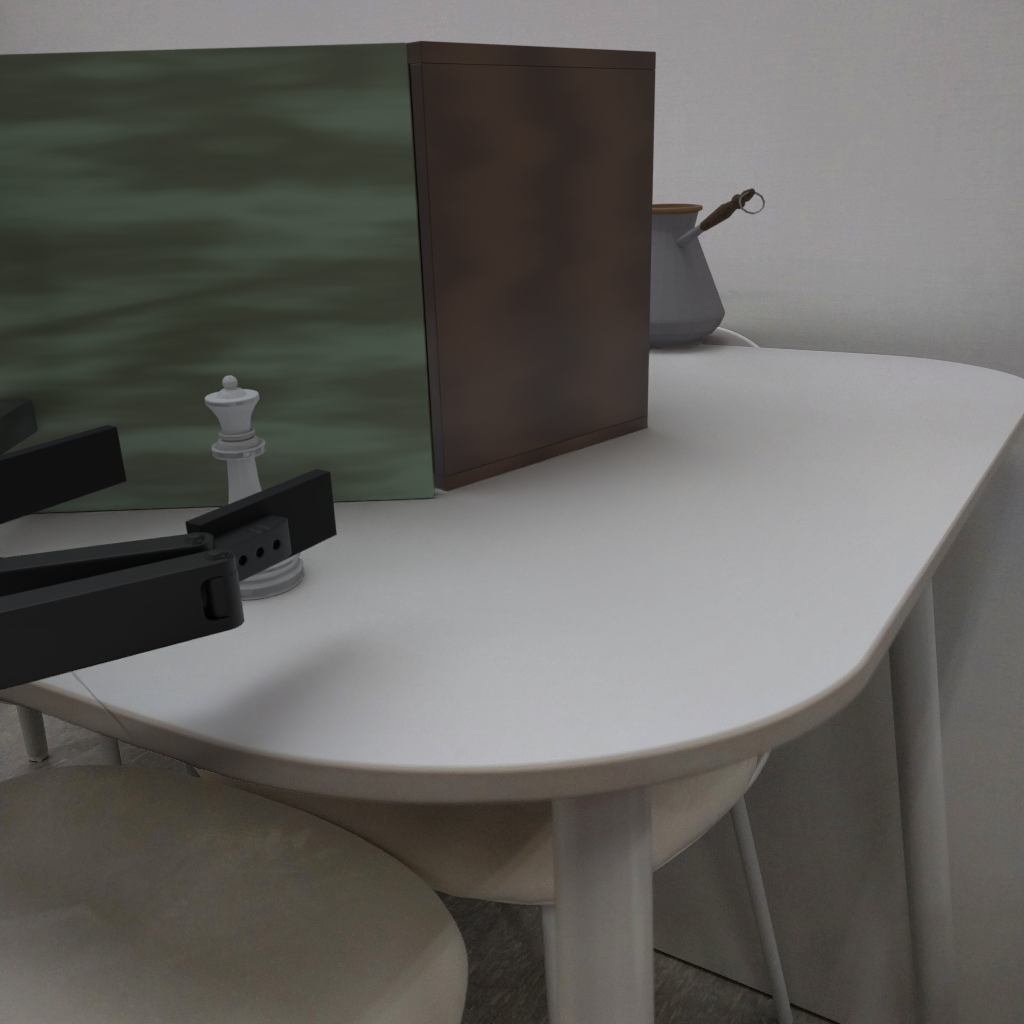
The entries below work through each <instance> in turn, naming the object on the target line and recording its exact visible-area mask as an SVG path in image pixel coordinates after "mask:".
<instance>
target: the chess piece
mask: <svg viewBox="0 0 1024 1024" xmlns="http://www.w3.org/2000/svg"><path fill="white" fill-rule="evenodd" d="M222 384H223V386H224V389H222V390H221V391H219V392H215V393H212V394H209V395H207V396H206V397H205V404H206V405H207V406H208V407H209V408H210V409H211V410H212V411H213V413H214V414H215V415H216V416H217V418H218V419H219V422H220V424H221V427H222V430H221V431H220V432H219V437H220V439H219V440H218V442H216V443H215V444H213V445H212V455H213V456H214V457H215V458H217V459H221V460H227V469H228V483H229V502H228V504H230V503H233V502H235V501H238V500H240V499H243V498H245V497H248V496H250V495H253V494H255V493H258V492H260V491H262V490H261V487H260V483H259V479H258V474H257V468H256V463H255V458H254V457H256V456H259V455H261V454H263V453H264V452H265V451H266V444H265V440H263V439H262V438H258V437H257V436H256V435H254V434H255V430H254V429H253V428H252V427H250V422H251V414H252V411H253V409H254V407H255V405H256V403H257V402H258V400H259V399H260V398H259V393H258V392H257V391H254V390H248V389H241V388H238V387H236V386H237V385H238V382H237V379H236V378H235V377H233V376H231V375H228V376H225V377H224V378H223V381H222ZM300 556H301V552H300V553H298V554H296V555H294V556H292V557H290V558H288V559H286V560H284V561H282V562H280V563H277V564H275V565H273V566H271V567H269V568H267V569H265V570H263V571H261V572H259V573H257V574H255V575H253V576H251V577H249V578H247V579H245V580H243V581H241V582H239V584H240V591H241V598H242V601H254V600H260V599H262V600H263V599H267V598H271V597H274V596H275V597H276V596H278V595H281V594H283V593H286V592H289V591H290V590H292V589H294V588H295V587H296V586H297V585H299V584H300V583H301V582H302V581H303V578H304V576H305V571H304V564H303V559H301V557H300Z"/></svg>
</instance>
